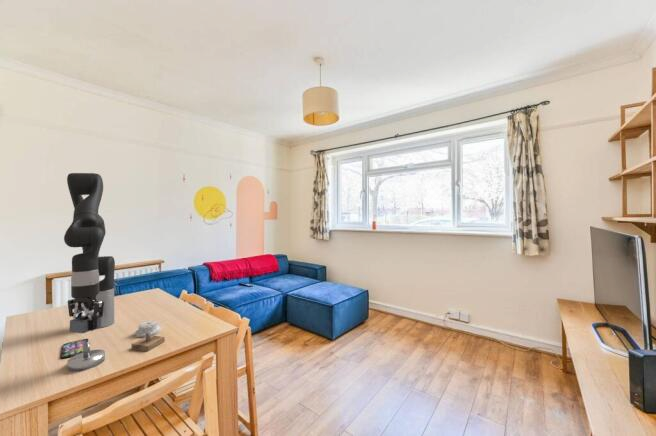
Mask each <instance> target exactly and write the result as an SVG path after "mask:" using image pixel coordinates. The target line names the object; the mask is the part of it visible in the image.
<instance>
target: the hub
mask: <svg viewBox="0 0 656 436" xmlns="http://www.w3.org/2000/svg"><path fill="white" fill-rule="evenodd" d="M105 360H106V351H105V350H103V349H91V343H90V342H89V341H88V342H85V343H84V345H83V353H80V354H77V355H75V356H73V357H70V358H68V360H67V372H68V371H69V372H83V371H86V370H90V369H92V368H94V367H97V366H99V365H100V364H103V362H104V361H105Z"/></svg>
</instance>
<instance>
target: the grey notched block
mask: <svg viewBox="0 0 656 436" xmlns="http://www.w3.org/2000/svg"><path fill="white" fill-rule="evenodd" d="M92 317H93V315H92ZM89 321H90V320H89V318H88V315H86V314H85V315H83V316H82V317H79V318H76V319H73V318H72V319H70V320H69V332H70V333H77V334H85V333H88V332H90V331H89ZM99 327H101V317H100V318H98V319H97V329H99ZM101 328H102V327H101Z"/></svg>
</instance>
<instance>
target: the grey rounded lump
mask: <svg viewBox="0 0 656 436" xmlns="http://www.w3.org/2000/svg"><path fill="white" fill-rule="evenodd" d="M137 326H138V329H137V330H136V331H134V336H135V337H136V338H144V337H146V333H148V332H151V335H152V336H156V335H157V334H159V333H161V332H162V326H160V325H159V321H157V320H148V321H145V322H141V323H139V325H137Z"/></svg>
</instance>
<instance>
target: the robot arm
mask: <svg viewBox="0 0 656 436" xmlns="http://www.w3.org/2000/svg"><path fill="white" fill-rule="evenodd" d="M66 182H67V183H66V184H67V188H68V192H69V194H70V198H71V201H72V205H73V208H74V210H73V217H72V222H71V224H70V225H69V226H68V228H67V229H66V231H65V234H64V237H63V241H64V243H65V245H66V246H68V248H81V249H82V252H81V253H78V254H74V255H73V256H72V258H71V276H70V278H71V279H70V288H71V289H70V296H71V299H69V300H67V306H68V315H69V317H70V318H72V320H73V319H76V318H79V317H82V316H84V314H85V315H88V318H89V320H90V321H89V331H88V332H92V331H95V330H97V329H99V328H104V327H109V326H111V325H113V324H115V321H116V320H115V271H116V269H115V268H116V261H115V258H114V256H112V255H111V256H110V255H109V256H108V255H107V256H106V255H105V256H100V252H101V251H100V250H101V248H102V244H103V242H104V238H105V236H106V234H107V233H106V225H105V221H104V219H103V217H102V216H101V215H100V214H99V207H100V204H101V201H102V197H103V192H104V181H103V178H102V176H101V174H99V173H94V172H90V173H89V172H71V173H68V175H67V177H66ZM83 196H86V197H85V198H83ZM103 276H104V278H103V279H101V280H100V277H103ZM92 315H93V317H92ZM100 317H101V327H99V328H97V319H98V318H100Z"/></svg>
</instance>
